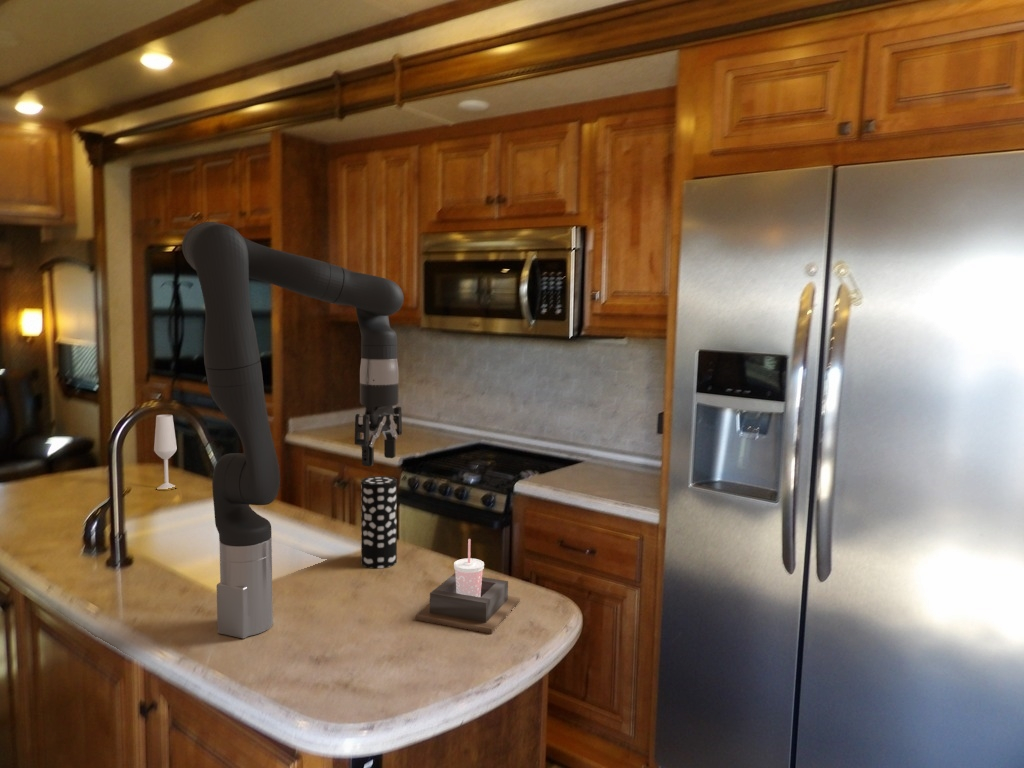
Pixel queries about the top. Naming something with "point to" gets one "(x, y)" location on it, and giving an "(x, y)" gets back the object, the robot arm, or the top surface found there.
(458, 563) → the beverage cup
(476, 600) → the cup holder
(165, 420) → the champagne flute
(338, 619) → the top surface
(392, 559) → the white-spotted black cylinder
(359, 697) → the top surface
